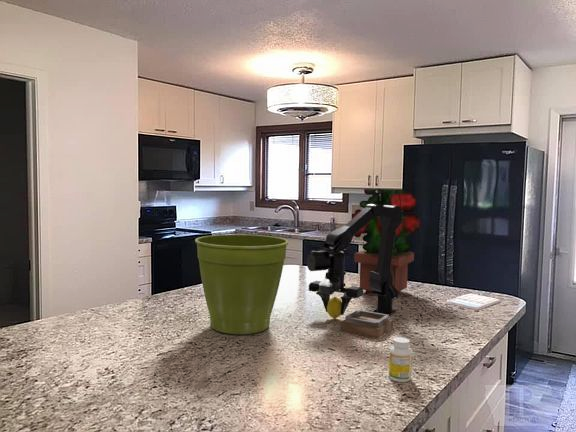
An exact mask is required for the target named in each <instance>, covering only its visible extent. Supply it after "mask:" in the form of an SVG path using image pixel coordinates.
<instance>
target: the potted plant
mask: <svg viewBox="0 0 576 432" xmlns="http://www.w3.org/2000/svg"><path fill="white" fill-rule="evenodd" d="M363 190H364V191H363V192H364V194H365V195H368V196H369V195H371V196H370V197H368V199H367V200H361V201H359V204H358V205H359V207H360V208H362V209H364V208H365V207H366V206H367V205H368V204H376V205H379V206H384V205H391V206H399V207H400V208H401V209H402V210H403V217H402V221H401V224H400V225H399V227H398V228H397V229H396V232H395V239H394V246H393V253H392V260H391V268H390V270H391V273H392V276H393V286H394V287H395V288H396V289H397V291H398V292H399V294H401V293H402V291H403V290H405V289H407V288H408V275H409V274H408V269H409V264H410V263H412V262H414V261H415V252H412V251H410V249H411V248H412V245H411V243H409V242H408V238H410V237H411V236H412V234H414V233H416V230H417V232H418V233H419V232H420V215H418V216H417V215H416V213H415V214H414V213H411V212H413V209H415V208H416V207H417V205H418V199H417V197H415V196H414V195H413V193H412V191H413V189H393V188H392V189H389V188H388V189H384V188H364V189H363ZM361 211H362V210H361V209H356V210H355V211H354V213H352V214H351V220H352V219H353V218H354V217H355V216H356V215H357V214H359V213H360V212H361ZM381 233H382V227H381V224H380V221H379V216H375V217H374V218H373V219H372V220H371V221H370V222H369V223H367V224H366V225H365V226H364V227H363V228H362V229H361V230H360V231H358V232H357V233H356V234H355V235H354V236H353V237H355V238H357V239H358V238H360V237H361V236H362V234H365V235H364V236H363V237H362V241H363V242H364V244H362V250H360V251H358V252H354V254H353V255H354V257H353V258H354V260H353V261H354V263H359V266H360V268H359V287H362V289H363V291H364V292H365V294H368V295H375V296H377V295H376V294H373V291H372V289H371V287H370V282H368V281H369V278H370V271H372V272H374V270H375V269H376V267H377V262H378V254H379V247H380V240H381ZM365 242H366V243H365ZM408 250H409V251H408Z"/></svg>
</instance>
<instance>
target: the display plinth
mask: <svg viewBox="0 0 576 432" xmlns="http://www.w3.org/2000/svg"><path fill="white" fill-rule="evenodd" d="M339 323H340V325H339V326H340V327H339V332H341V333H347V334H353V335H357V336H363V337H367V338H372V339H377V340H379V339H380V338H382V337H383V336H385V335H386V334H387V333H389V332H390V331H392V330H393V329H394V319H392V318H390V315H387V314H381V313H375V312H373V311H369V310H368V311H367V310H365V309H364V310H363V309H359V310H355V311H352V312H350V313H349V314H347V315H345V319H344V320H341V321H340V322H339ZM384 334H385V335H384Z"/></svg>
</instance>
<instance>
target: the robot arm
mask: <svg viewBox="0 0 576 432" xmlns="http://www.w3.org/2000/svg"><path fill="white" fill-rule="evenodd" d="M375 216H379V221H380V224H381V227H382V233H381V240H380V247H379V254H378V262H377V267H376V269H375V270H374V272H372V271H370V278H369V281H368V282H370V287H371V289H372V291H373V294H376V295H375V296H376V309H375V310H373V311H372V312H375V313H381V314H387V315H389V316H391V315H392V314H394V313H396V309H393V305H394V299H396V298H398V297H399V294H400V293H399V292H398V291H397V289H396V288H395V287H394V286H393V276H392V273H391V270H390V268H391V260H392V253H393V246H394V239H395V232H396V229H397V228H398V227H399V225H400V224H401V221H402V217H403V210H402V209H401V208H400V207H399V206H391V205H384V206H379V205H376V204H368V205H367V206H366V207H365V208H362V210H361V212H360V213H359V214H357V215H356V216H355V217H354V218H353V219H352V218H351V219H350V220H349V221H348V222H347V223H345V225H343V226H342V227H339V228H336V229H335V230H333V231H331V232H329V233H328V234H327V235H326V236H325V240H324V242H323V244H322V245H321V246H320V248H319V250H310V251H309V253H310V254H309V255H307V259H306V266H307V269H308V270H309V272H318V271H319V272H320V271H327V272H325V276H324V278H323V279H322V280H314V281H312V282H310V283H309V284H308V291H309V292H314V293H315V294H316V295H318V297H320V298H321V301H322V303H323V307H324V309H325V312H326V313H328V312H327V304H328V302H329V300H330V299H331V295H333V294H334V293H341V294H343V295H342V296H341V297H340V298H341V299H340V300H341V302H342V306H341V316H344V314H345V313H346V310H347V308H348V306H349V304H350V302H351V301H352V299H358V298H360V297H362V296H364V290H363V289H362V287H360V286H356V285H355V286H354V285H351V286H349V287H346V283H345V276H346V274H347V273H346V271H345V262H346V261H345V257H350V256H351V253H349V252H348V251H347V248H348V247H349V245H350V244H351V243H352V241H353V238H354V237H355V236H354V235H355V234H356V233H357V232H358V231H360V230H361V229H362V228H363V227H364V226H365V225H366V224H367V223H369V222H370V221H371V220H372V219H373V218H374V217H375ZM373 294H372V295H373Z"/></svg>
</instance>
